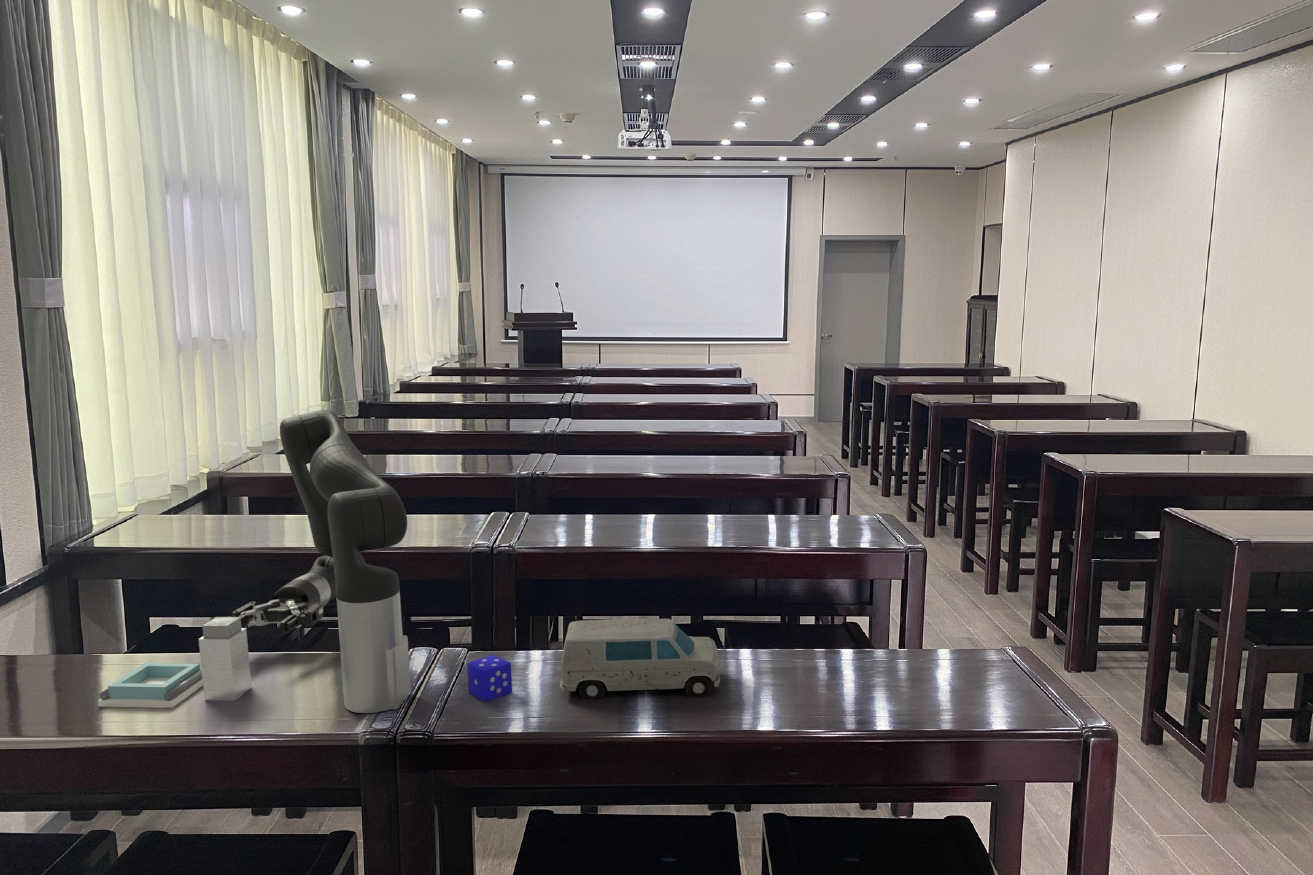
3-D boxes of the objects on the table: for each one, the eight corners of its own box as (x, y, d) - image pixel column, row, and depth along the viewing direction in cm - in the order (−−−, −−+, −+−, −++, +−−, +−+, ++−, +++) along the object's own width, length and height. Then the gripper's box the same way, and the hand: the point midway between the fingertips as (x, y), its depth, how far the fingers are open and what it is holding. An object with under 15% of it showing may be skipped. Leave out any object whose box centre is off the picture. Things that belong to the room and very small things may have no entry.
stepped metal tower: (251, 687, 152) (245, 616, 150) (235, 700, 147) (228, 626, 145) (222, 687, 152) (215, 615, 150) (204, 700, 147) (197, 626, 146)
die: (468, 692, 148) (466, 662, 147) (495, 683, 151) (493, 654, 150) (485, 702, 144) (483, 671, 143) (512, 692, 148) (511, 662, 147)
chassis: (211, 679, 156) (209, 661, 155) (171, 707, 145) (170, 689, 144) (143, 678, 157) (141, 660, 156) (98, 706, 146) (96, 688, 145)
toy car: (721, 698, 144) (720, 635, 143) (559, 702, 144) (556, 639, 142) (716, 670, 155) (715, 612, 153) (565, 674, 154) (563, 616, 153)
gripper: (263, 578, 175) (215, 606, 159) (337, 578, 174) (296, 607, 158) (267, 617, 176) (219, 649, 160) (340, 617, 175) (300, 650, 159)
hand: (258, 628), depth 159 cm, fingers open, 8 cm apart
